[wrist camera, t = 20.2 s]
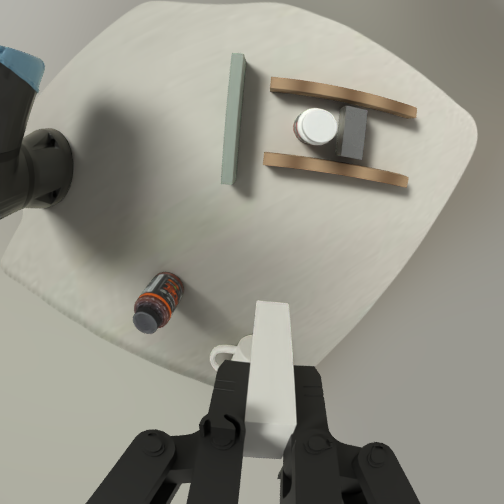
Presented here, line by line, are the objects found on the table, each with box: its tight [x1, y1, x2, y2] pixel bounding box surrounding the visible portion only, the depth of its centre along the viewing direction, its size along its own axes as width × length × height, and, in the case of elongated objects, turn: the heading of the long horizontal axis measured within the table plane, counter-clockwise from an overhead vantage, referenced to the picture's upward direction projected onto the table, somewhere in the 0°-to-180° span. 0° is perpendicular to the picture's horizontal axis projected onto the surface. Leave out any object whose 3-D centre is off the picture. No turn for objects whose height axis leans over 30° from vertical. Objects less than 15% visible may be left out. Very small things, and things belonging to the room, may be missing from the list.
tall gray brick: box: [335, 106, 368, 160], centre depth 34 cm, size 3×7×4 cm, turn 175°
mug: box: [210, 335, 253, 371], centre depth 49 cm, size 12×10×8 cm
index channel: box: [263, 77, 417, 188], centre depth 34 cm, size 21×12×3 cm, turn 85°
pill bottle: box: [293, 108, 337, 145], centre depth 32 cm, size 5×5×8 cm
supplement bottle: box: [133, 272, 183, 334], centre depth 42 cm, size 6×6×11 cm
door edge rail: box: [221, 53, 246, 185], centre depth 34 cm, size 2×18×4 cm, turn 175°
